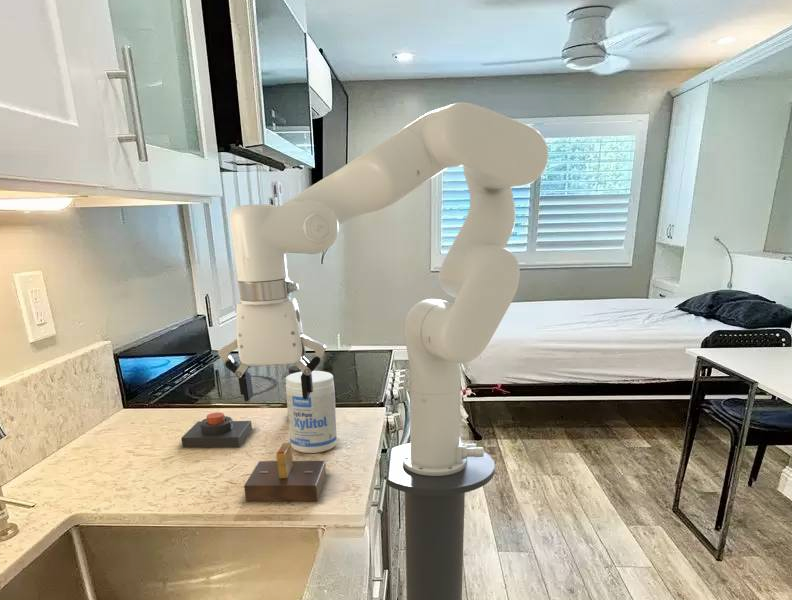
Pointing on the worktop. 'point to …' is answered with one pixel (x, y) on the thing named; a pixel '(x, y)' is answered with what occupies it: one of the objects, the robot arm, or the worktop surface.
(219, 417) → the bell button
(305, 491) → the plate
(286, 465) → the thumb turn
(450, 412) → the robot arm
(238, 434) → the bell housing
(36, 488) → the worktop surface
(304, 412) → the supplement tub
